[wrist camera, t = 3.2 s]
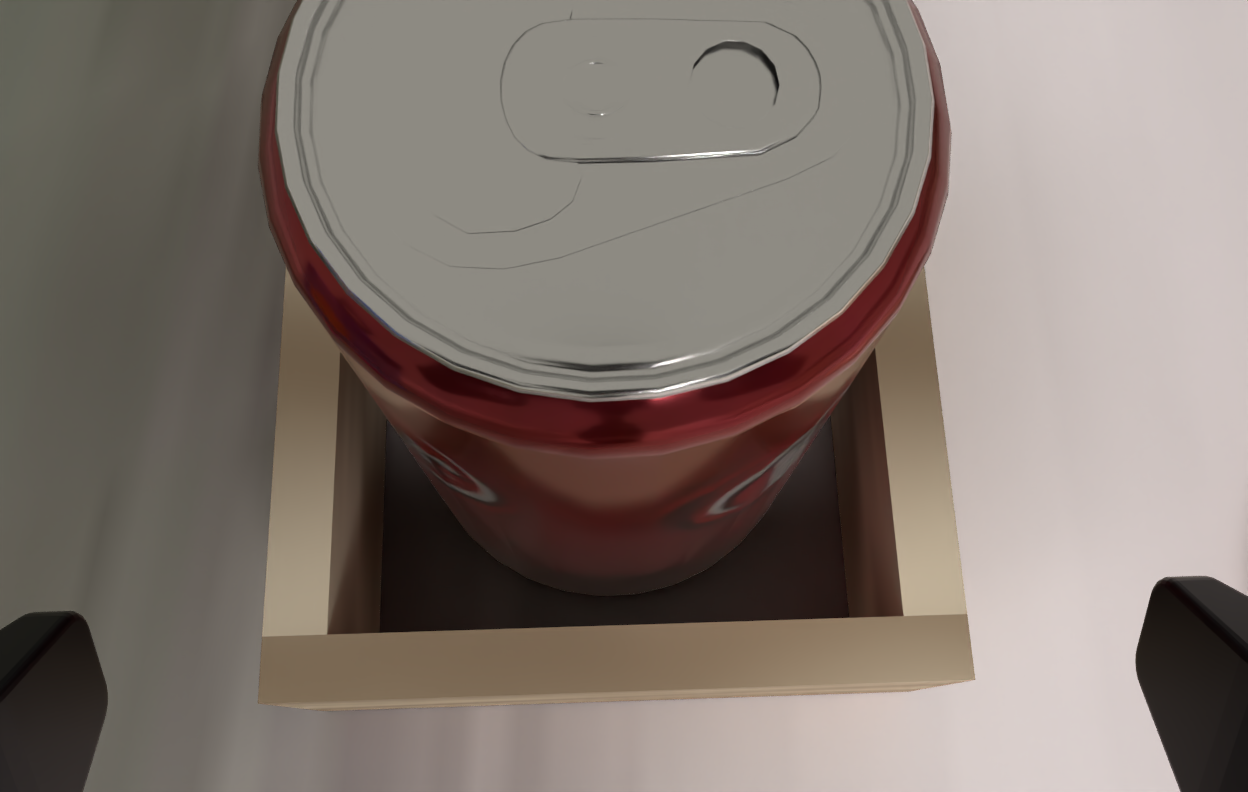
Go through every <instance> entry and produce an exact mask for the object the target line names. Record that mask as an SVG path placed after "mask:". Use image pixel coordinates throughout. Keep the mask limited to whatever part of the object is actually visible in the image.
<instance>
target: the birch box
mask: <svg viewBox="0 0 1248 792" xmlns="http://www.w3.org/2000/svg"><path fill="white" fill-rule="evenodd" d="M386 423H387V418H386V417H385V415H384V414H383V412H382V411H381V410H380V408H379V407H378V405H377V404H376V402H375V401H374V399H373V398H372V397H371V395H370V394H369V392H368V391H367V389H366V388H365V386H364V385H363V384H362V382H361V381H360V379H359V378H358V376H357V375H356V374H355V372H354V371H353V369H352V368H351V366H350V365H349V363H348V362H347V361H346V359H345V358H344V356H343V355H342V353H341V352H340V351H339V349H338V348H337V346H336V345H335V343H334V342H333V340H332V339H331V338H330V336H329V335H328V333H327V332H326V330H325V329H324V327H323V326H322V325H321V323H320V322H319V320H318V319H317V317H316V316H315V315H314V313H313V312H312V310H311V309H310V307H309V306H308V304H307V303H306V302H305V300H304V299H303V297H302V296H301V294H300V293H299V292H298V290H297V289H296V287H295V286H294V284H293V282H292V279H291V277H290V275H289V272H288V270H287V268H286V273H285V288H284V304H283V319H282V335H281V350H280V366H279V382H278V397H277V413H276V428H275V444H274V459H273V475H272V490H271V506H270V522H269V537H268V553H267V568H266V584H265V599H264V615H263V630H262V646H261V662H260V677H259V693H258V704H266V705H275V706H284V707H293V708H301V709H310V710H319V711H338V710H368V709H398V708H428V707H458V706H488V705H518V704H548V703H578V702H608V701H638V700H668V699H698V698H728V697H758V696H788V695H818V694H848V693H878V692H908V691H914V690H920V689H926V688H931V687H937V686H943V685H948V684H954V683H960V682H965V681H971V680H975V674H974V666H973V658H972V650H971V641H970V633H969V625H968V617H967V609H966V601H965V593H964V585H963V577H962V569H961V561H960V553H959V545H958V537H957V528H956V520H955V512H954V504H953V496H952V488H951V480H950V472H949V464H948V456H947V448H946V440H945V432H944V423H943V415H942V407H941V399H940V391H939V383H938V375H937V367H936V359H935V351H934V343H933V335H932V327H931V318H930V310H929V302H928V294H927V286H926V278H925V270H924V267H923V269H922V271H921V272H920V274H919V276H918V278H917V280H916V281H915V283H914V285H913V287H912V289H911V291H910V292H909V294H908V296H907V298H906V300H905V301H904V303H903V305H902V307H901V309H900V310H899V312H898V313H897V315H896V316H895V318H894V319H893V321H892V323H891V324H890V326H889V327H888V329H887V330H886V332H885V333H884V335H883V336H882V338H881V339H880V341H879V342H878V344H877V345H876V347H875V348H874V350H873V351H872V353H871V354H870V356H869V357H868V359H867V360H866V362H865V363H864V365H863V366H862V368H861V369H860V371H859V372H858V374H857V375H856V377H855V378H854V380H853V382H852V383H851V385H850V386H849V388H848V389H847V391H846V392H845V394H844V395H843V397H842V398H841V400H840V401H839V403H838V404H837V406H836V407H835V409H834V410H833V412H832V413H831V426H832V437H833V447H834V458H835V469H836V480H837V491H838V502H839V512H840V523H841V534H842V545H843V556H844V567H845V577H846V588H847V599H848V610H849V618H829V619H798V620H767V621H735V622H704V623H673V624H642V625H610V626H579V627H548V628H517V629H485V630H454V631H423V632H392V633H380V604H381V574H382V543H383V513H384V483H385V453H386Z"/></svg>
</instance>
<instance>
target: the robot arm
mask: <svg viewBox="0 0 1248 792" xmlns="http://www.w3.org/2000/svg"><path fill="white" fill-rule="evenodd" d="M1136 672H1137V677H1138V680H1139V683H1140V686H1141V689H1142V692H1143V694H1144V697H1145V699H1146V702H1147V705H1148V707H1149V710H1150V713H1151V715H1152V718H1153V721H1154V723H1155V726H1156V728H1157V731H1158V734H1159V736H1160V739H1161V742H1162V744H1163V747H1164V750H1165V752H1166V755H1167V757H1168V760H1169V763H1170V765H1171V768H1172V771H1173V773H1174V776H1175V779H1176V781H1177V784H1178V786H1179V789H1180V792H1248V596H1246V595H1244V594H1243V593H1241V592H1239V591H1237V590H1235V589H1233V588H1231V587H1230V586H1228V585H1226V584H1224V583H1222V582H1220V581H1218V580H1217V579H1214V578H1212V577H1208V576H1182V577H1165V578H1163V579H1161V580H1159V581H1158V582H1157V583H1156V585H1155V586H1154V588H1153V590H1152V593H1151V596H1150V600H1149V604H1148V608H1147V611H1146V615H1145V619H1144V623H1143V627H1142V631H1141V635H1140V638H1139V642H1138V646H1137V651H1136ZM107 705H108V692H107V686H106V681H105V678H104V675H103V672H102V668H101V665H100V662H99V658H98V655H97V652H96V649H95V645H94V642H93V639H92V636H91V632H90V629H89V626H88V624H87V622H86V620H85V619H84V617H83V616H82V615H80V614H79V613H76V612H74V611H57V612H34V613H29V614H25V615H24V616H22V617H20V618H18V619H17V620H15V621H14V622H12V623H10V624H9V625H7V626H6V627H4V628H3V629H1V630H0V792H83V790H84V786H85V783H86V780H87V776H88V773H89V770H90V766H91V763H92V760H93V756H94V753H95V750H96V746H97V743H98V740H99V736H100V733H101V730H102V726H103V723H104V720H105V716H106V712H107Z"/></svg>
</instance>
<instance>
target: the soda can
mask: <svg viewBox="0 0 1248 792" xmlns="http://www.w3.org/2000/svg"><path fill="white" fill-rule="evenodd" d="M951 134H952V133H951V127H950V121H949V115H948V109H947V103H946V97H945V91H944V85H943V79H942V73H941V67H940V63H939V60H938V58H937V55H936V53H935V50H934V48H933V45H932V43H931V40H930V38H929V35H928V33H927V30H926V28H925V25H924V23H923V20H922V18H921V15H920V13H919V10H918V9H917V7H916V5H915V4H914V2H913V1H912V0H297V2H296V4H295V6H294V7H293V9H292V11H291V13H290V15H289V17H288V19H287V21H286V23H285V25H284V27H283V29H282V31H281V33H280V35H279V36H278V39H277V43H276V46H275V50H274V54H273V57H272V61H271V65H270V68H269V72H268V76H267V79H266V83H265V87H264V90H263V94H262V100H261V110H260V132H259V154H258V169H259V174H260V180H261V185H262V191H263V196H264V202H265V207H266V213H267V219H268V224H269V228H270V230H271V232H272V235H273V237H274V239H275V242H276V244H277V246H278V249H279V251H280V253H281V256H282V258H283V261H284V263H285V265H286V268H287V270H288V272H289V275H290V277H291V279H292V282H293V284H294V286H295V287H296V289H297V290H298V292H299V293H300V294H301V296H302V297H303V299H304V300H305V302H306V303H307V304H308V306H309V307H310V309H311V310H312V312H313V313H314V315H315V316H316V317H317V319H318V320H319V322H320V323H321V325H322V326H323V327H324V329H325V330H326V332H327V333H328V335H329V336H330V338H331V339H332V340H333V342H334V343H335V345H336V346H337V348H338V349H339V351H340V352H341V353H342V355H343V356H344V358H345V359H346V361H347V362H348V363H349V365H350V366H351V368H352V369H353V371H354V372H355V374H356V375H357V376H358V378H359V379H360V381H361V382H362V384H363V385H364V386H365V388H366V389H367V391H368V392H369V394H370V395H371V397H372V398H373V399H374V401H375V402H376V404H377V405H378V407H379V408H380V410H381V411H382V412H383V414H384V415H385V417H386V418H387V420H388V421H389V422H390V424H391V425H392V427H393V428H394V430H395V431H396V433H397V434H398V435H399V437H400V438H401V440H402V441H403V443H404V444H405V446H406V447H407V448H408V450H409V451H410V453H411V454H412V456H413V457H414V458H415V460H416V461H417V463H418V464H419V466H420V467H421V469H422V470H423V471H424V473H425V474H426V476H427V477H428V479H429V480H430V481H431V483H432V484H433V486H434V487H435V489H436V490H437V492H438V493H439V494H440V496H441V497H442V499H443V500H444V502H445V503H446V505H447V506H448V507H449V509H450V510H451V511H452V513H453V514H454V516H455V517H456V518H457V520H458V521H459V523H460V524H461V525H462V527H463V528H464V530H465V531H466V532H467V534H468V535H469V536H470V537H472V538H473V539H474V540H475V541H476V542H477V543H478V544H479V545H480V546H481V547H482V548H484V549H485V550H486V551H487V552H488V553H489V554H490V555H491V556H492V557H493V558H494V559H496V560H498V561H499V562H501V563H503V564H504V565H506V566H508V567H509V568H511V569H513V570H514V571H516V572H518V573H519V574H521V575H523V576H524V577H526V578H528V579H531V580H534V581H536V582H539V583H542V584H545V585H548V586H551V587H553V588H556V589H559V590H562V591H568V592H575V593H582V594H589V595H596V596H612V595H630V594H641V593H644V592H648V591H652V590H656V589H660V588H663V587H667V586H671V585H675V584H677V583H679V582H681V581H683V580H685V579H687V578H690V577H692V576H694V575H696V574H698V573H700V572H702V571H704V570H706V569H708V568H710V567H711V566H712V565H714V564H715V563H716V562H718V561H719V560H720V559H721V558H723V557H724V556H725V555H727V554H728V553H729V552H731V551H732V550H733V549H734V548H736V547H737V546H738V545H739V544H740V543H741V542H742V541H743V540H744V539H745V537H746V536H747V535H748V534H749V533H750V532H751V530H752V529H753V528H754V527H755V526H756V525H757V523H758V522H759V521H760V520H761V519H762V518H763V516H764V515H765V513H766V512H767V510H768V509H769V507H770V506H771V504H772V503H773V501H774V500H775V498H776V497H777V495H778V494H779V492H780V490H781V489H782V487H783V486H784V484H785V483H786V481H787V480H788V478H789V477H790V475H791V474H792V472H793V471H794V469H795V468H796V466H797V465H798V463H799V462H800V460H801V459H802V457H803V456H804V454H805V453H806V451H807V450H808V448H809V447H810V445H811V444H812V442H813V441H814V439H815V438H816V436H817V434H818V433H819V431H820V430H821V428H822V427H823V425H824V424H825V422H826V421H827V419H828V418H829V416H830V415H831V413H832V412H833V410H834V409H835V407H836V406H837V404H838V403H839V401H840V400H841V398H842V397H843V395H844V394H845V392H846V391H847V389H848V388H849V386H850V385H851V383H852V382H853V380H854V378H855V377H856V375H857V374H858V372H859V371H860V369H861V368H862V366H863V365H864V363H865V362H866V360H867V359H868V357H869V356H870V354H871V353H872V351H873V350H874V348H875V347H876V345H877V344H878V342H879V341H880V339H881V338H882V336H883V335H884V333H885V332H886V330H887V329H888V327H889V326H890V324H891V323H892V321H893V319H894V318H895V316H896V315H897V313H898V312H899V310H900V309H901V307H902V305H903V303H904V301H905V300H906V298H907V296H908V294H909V292H910V291H911V289H912V287H913V285H914V283H915V281H916V280H917V278H918V276H919V274H920V272H921V271H922V269H923V267H924V265H925V263H926V261H927V260H928V258H929V256H930V254H931V251H932V248H933V245H934V241H935V238H936V234H937V231H938V227H939V224H940V220H941V217H942V213H943V210H944V206H945V203H946V199H947V196H948V188H949V170H950V152H951Z"/></svg>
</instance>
